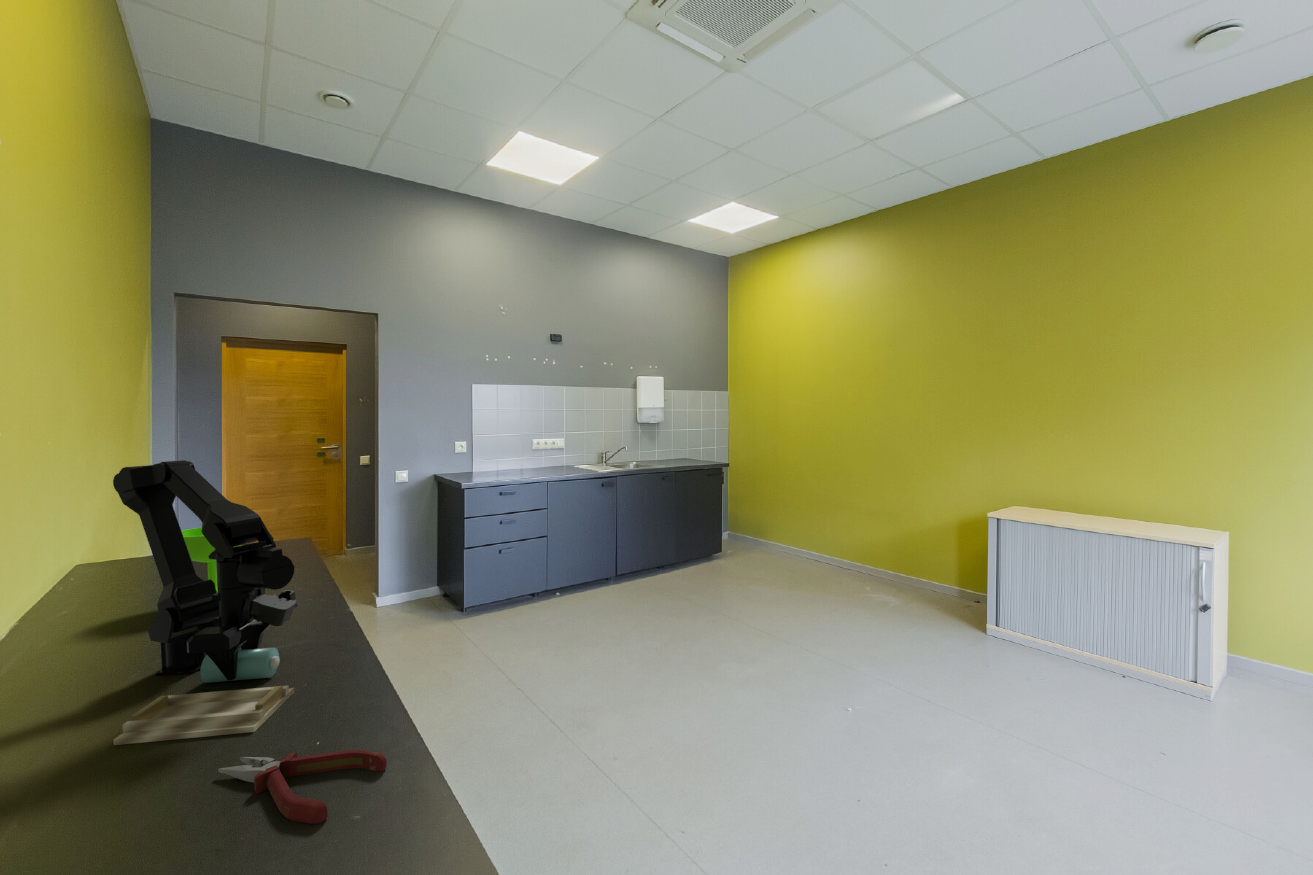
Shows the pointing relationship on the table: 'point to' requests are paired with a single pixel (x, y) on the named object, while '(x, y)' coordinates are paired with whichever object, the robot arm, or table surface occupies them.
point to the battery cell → (244, 665)
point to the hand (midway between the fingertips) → (241, 671)
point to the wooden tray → (203, 714)
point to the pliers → (273, 773)
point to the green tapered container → (201, 551)
